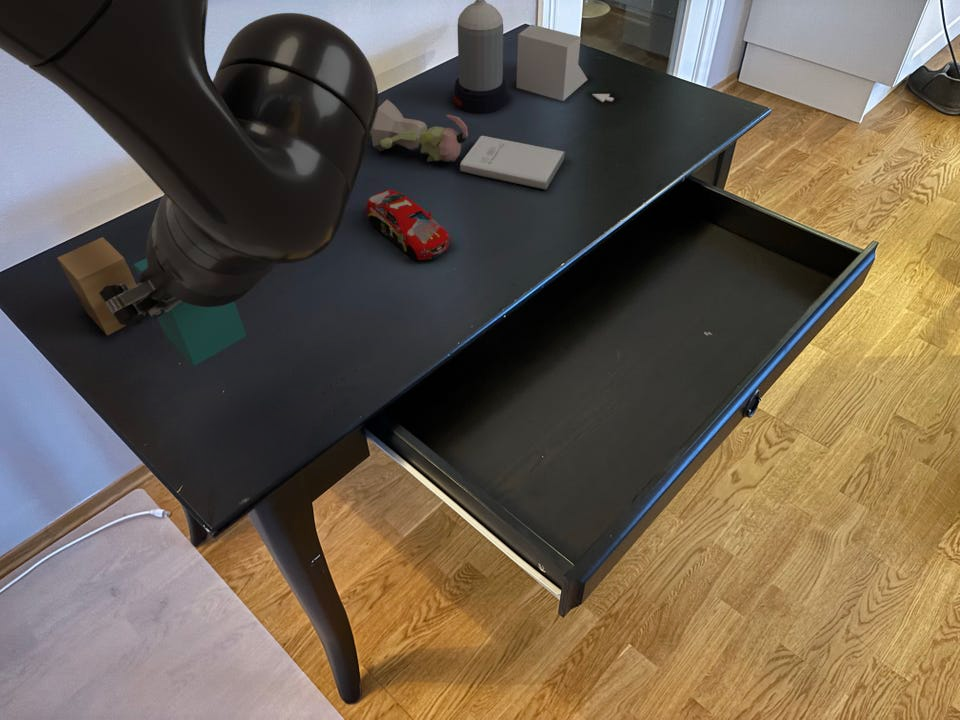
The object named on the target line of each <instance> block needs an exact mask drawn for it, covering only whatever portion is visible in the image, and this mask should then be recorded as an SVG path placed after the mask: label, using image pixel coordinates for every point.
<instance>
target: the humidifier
mask: <svg viewBox="0 0 960 720" xmlns="http://www.w3.org/2000/svg"><path fill="white" fill-rule="evenodd" d="M457 53H458V54H457V59H458V60H457V61H458V62H457V64H458V77H457V78H456V80H455V82H454V83H455V84H454V95H453V96H452V100H453V102H454V103H455V105H456V107H457V108H459V109H460V110H461V111H465V112H467V113H471V114H490V113H494V112H497V111H500V110H501V109H502V108H504V107H505V106H506V104H507V102H508V101H507V98H508V97H507V96H508V89H507V88H508V87H507V81H506V79H505V78H504V77H503V76H504V74H503V73H504V72H503V70H504V69H503V67H504V18H503V16H502V14H501V13H500V11H499V10H498V9H497V8H496V7H495V6H493V5H492V4H490V3H488V2H487V1H486V0H475V1H474V2H473V3H470V4H469V5H467V6H466V7H465V8H463V10H462V11H461V12H460V14H459V16H458V18H457Z"/></svg>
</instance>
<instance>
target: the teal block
mask: <svg viewBox="0 0 960 720" xmlns="http://www.w3.org/2000/svg"><path fill="white" fill-rule="evenodd" d="M147 266H148V264H147V257H145V258H143V259H142V260H140V261H137V262H135V263H133V267H134V269H135V271H136V274H137V276H138V278H139V277H140V274H141V272H142V271H143V270H144V269H145V268H146V267H147ZM156 319H157V321H158V322H159V324H160V327H161V329H162V331H163V333H164V336H165V337H166V338H167V339H168V341H170V342H171V344H173V346H175V348H176V349H177V350H178V351H179V352H180V353H181V354H182V355H183V356H184V357H185V358H186V359H187V360H188V361H189V362H190V363H191V364H192V365H193V366H194V367H195V366H197V365H198V364H200V363H202V362H204V361H206V360H207V359H209V358H211V357H213V356H215V355H216V354H218V353H220V352H222V351H224V350H226V349H227V348H229V347H230V346H232V345H233V344H236V343H238V342H239V341H241V340H243V339H244V338H246V336H247V335H246V332H245V329H244V326H243V323H242V319H241V317H240V313H239V311H238V308H237V305H236V301H234V302H232V303H229V304H226V305H223V306H217V307H201V306H195V305H191V304H188V303H183V304H182V305H181V306H179V307H176V308H174V309H172V310H170V311H168V312H166V311H163V313H162V314H161V315H160V316H158V317H156Z"/></svg>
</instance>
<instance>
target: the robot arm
mask: <svg viewBox="0 0 960 720" xmlns="http://www.w3.org/2000/svg"><path fill="white" fill-rule="evenodd" d="M208 5H209V0H0V49H1V50H2V51H4V52H5V53H7V54H8V55H10V56H11V57H13V58H14V59H16V60H17V61H19V62H20V63H22V64H23V65H25V66H27V67H29V68H30V69H31V70H33V71H34V72H36V73H37V74H39V76H41V77H43V78H45V79H46V80H48V81H49V82H51V83H52V84H53V85H54V86H56V87H57V88H58V89H60V90H61V91H63V93H65V94H66V95H67V96H68V97H70V98H71V99H72V100H73V101H74V102H75V103H76V104H77V105H78V106H79V107H80V108H81V109H82V110H83V111H84V112H85V113H86V114H87V115H88V116H90V118H91V119H92V120H93V121H94V122H95V123H96V124H97V125H98V126H99V127H100V128H101V129H102V130H103V131H104V132H105V133H106V134H107V135H108V136H109V137H110V138H111V139H112V140H113V141H114V142H115V143H116V144H117V145H118V146H119V147H120V148H121V149H122V150H123V151H124V152H125V153H126V154H127V155H128V156H129V157H130V158H131V159H132V160H133V161H134V162H135V163H136V164H137V166H139V167H140V168H141V170H142V171H143V172H144V173H145V174H146V175H147V176H148V177H149V178H150V179H151V181H152V182H153V183H154V184H155V186H157V187H158V189H159V190H160V191H161V192H162V193H163V196H162V197H161V199H160V201H159V204H158V206H157V209H156V211H155V214H154V217H153V220H152V222H151V224H150V228H149V231H148V233H147V237H146V242H145V255H146V256H145V258H147V264H148V266H147V267H146V268H145V269H144V270H143V271H142V272H141V274H140V277H139V276H138V281H139V282H137V283H136V286H134V287H132V288H130V289H128V288H127V286H126V285H125V283H122V284H120V285H118V286H117V285H116V284H115V285H112V286H110V285H108V286H106V287H104V288H103V290H102V291H100V292H99V294H100V295H101V297H102V298H103V300H104V301H105V303H106V304H107V306H108V307H109V309H110V310H111V312H112V313H113V314H114V316H115V318H116V319H117V321H118V322H119V324H122V325H126V326H127V327H132V326H138V325H140V324H141V323H142V321H143V320H145V318H147V317H149V316H150V317H151V318H152V319H157V317H158V316H160V315H161V314H162V313H163V311H166V312H168V311H170V310H172V309H174V308H176V307H179V306H181V305H182V304H183V303H188V304H191V305H195V306H201V307H217V306H223V305H226V304H229V303H232V302H236V301H238V300H240V299H241V298H242V297H244V296H245V295H246V294H247V293H249V292H250V291H251V290H252V289H253V288H254V287H255V286H256V285H257V284H259V282H260V281H262V280H263V279H265V277H266V276H267V275H268V274H269V273H270V272H271V271H272V270H273V269H274V267H275V266H276V265H277V264H293V263H298V262H302V261H306V260H309V259H311V258H314V257H315V256H317V255H319V254H321V253H322V252H323V251H325V249H327V248H328V247H329V246H330V244H331V243H332V241H333V240H334V238H335V236H336V235H337V233H338V231H339V230H340V227H341V224H342V222H343V219H344V217H345V213H346V210H347V208H348V205H349V201H350V199H351V195H352V193H353V191H354V186H355V184H356V180H357V178H358V174H359V172H360V170H361V166H362V163H363V160H364V157H365V154H366V150H367V148H368V145H369V142H370V139H371V138H372V131H373V128H374V125H375V121H376V117H377V111H378V108H379V89H378V84H377V80H376V77H375V74H374V71H373V67H372V66H371V63H370V62H369V60H368V58H367V56H366V55H365V54H364V52H363V51H362V49H361V48H360V47H359V46H358V44H357V43H356V42H355V41H354V39H352V38H351V37H350V35H348V34H347V33H346V32H344V31H343V30H342V29H341V28H339V27H338V26H335V25H334V24H332V23H330V22H329V21H326V20H324V19H322V18H319V17H317V16H314V15H310V14H305V13H299V12H298V13H297V12H281V13H274V14H269V15H266V16H263V17H260V18H258V19H256V20H253V21H252V22H250V23H247V24H246V25H245V26H244V27H242V28H241V29H240V30H239V31H238V32H237V33H236V34H235V35H234V36H233V37H232V38H231V40H230V42H229V43H228V45H227V47H226V49H225V51H224V53H223V55H222V58H221V61H220V62H219V64H218V67H217V70H216V73H215V75H214V77H213V79H212V77H211V76H210V74H209V70H208V65H207V58H206V28H207V18H208V11H209V9H208V7H209V6H208ZM126 326H125V327H126Z"/></svg>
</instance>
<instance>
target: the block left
mask: <svg viewBox="0 0 960 720" xmlns="http://www.w3.org/2000/svg"><path fill="white" fill-rule="evenodd" d="M56 259H57V261H58V263H59V265H60V267H61V268H62V270H63V272H64V274H65V276H66V278H67V279H68V281H69V283H70V285H71V287H72V288H73V291H74V292H75V294H76V295H77V298H78V300H79V301H80V303H81V305H82V307H83V308H84V310H85V312H86V314H87V315H88V316H89V317H90V319H91V320H92V321H93V322H94V323H95V325H97V326H98V327H99V329H100V330H101V331H103V333H104V334H105V335H106V336H110V335H111V334H114V333H116V332H117V331H119V330H121V329H123V328H125V327H126V325H122V324H119V322H118V321H117V319H116V318H115V316H114V314H113V313H112V312H111V310H110V309H109V307H108V306H107V304H106V303H105V301H104V300H103V298H102V297H101V295H100V294H99V292H100V291H102V290H103V288H104V287H106V286H108V285H110V286H112V285H115V284H116V285H117V286H118V285H120V284H122V283H125V285H126V286H127V288H128V289H130V288H132V287H134V286H136V284H137V283H136V281H135V278H134V276H133V274H132V272H131V270H130V268H129V265H128V264H127V261H126V259H125V257H124V256H123V255H122V254H121V253H120V252H119V251H118V250H117V249H116V248H114V246H113V245H112V244H111V243H109V242H108V240H107V239H105V238H104V237H103V236H102V237H100V238H97V239H95V240H93V241H91V242H89V243H86V244H84V245H82V246H79V247H77V248H76V249H75V248H74V249H73V250H71V251H69V252H66V253H65V254H62V255H60V256H58V257H56Z"/></svg>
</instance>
